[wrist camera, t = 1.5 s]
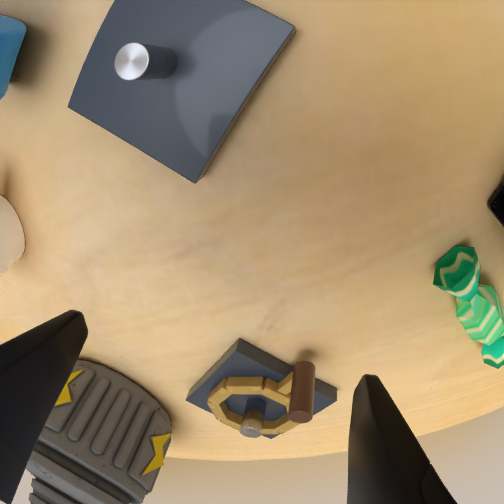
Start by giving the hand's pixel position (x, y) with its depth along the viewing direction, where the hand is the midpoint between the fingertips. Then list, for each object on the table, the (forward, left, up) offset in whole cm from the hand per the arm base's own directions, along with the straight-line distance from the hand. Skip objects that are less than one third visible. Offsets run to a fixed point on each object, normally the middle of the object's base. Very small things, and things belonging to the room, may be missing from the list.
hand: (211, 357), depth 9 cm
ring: (-10, +15, -12) cm, 22 cm away
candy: (-18, -3, -13) cm, 23 cm away
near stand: (+10, -4, -13) cm, 17 cm away
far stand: (-10, +17, -13) cm, 24 cm away
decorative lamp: (+2, +36, -13) cm, 38 cm away
